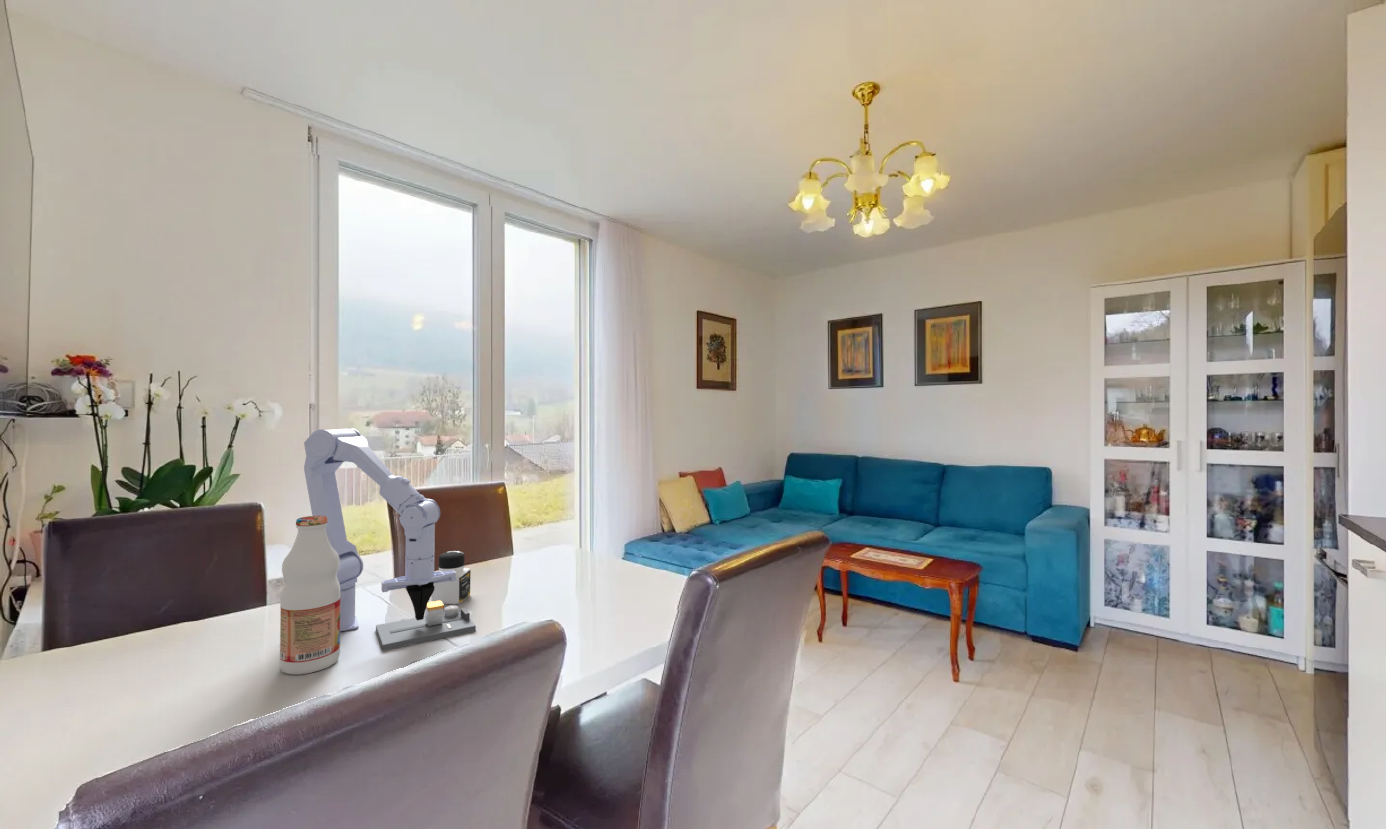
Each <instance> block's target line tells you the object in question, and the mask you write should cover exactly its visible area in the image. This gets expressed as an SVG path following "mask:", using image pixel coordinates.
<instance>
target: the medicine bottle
mask: <svg viewBox="0 0 1386 829" xmlns="http://www.w3.org/2000/svg"><path fill="white" fill-rule="evenodd" d="M465 558H466V557H465V553H464V552H462V551H459V550H457V551H456V550H452V551H446V552H443V553H441V554H440V555H439V556H438V572H441V571H453V570H454V571H455V572H456V581H446V582H440V583H434V592H433V593H432V595H431V597H430V600H431V601H430V602H434V601H439V600H440V601H441V602H442V603H443V605H460V604H461V603H462V602H463V601H465V600H466V599H468V597H470V595H471V575H472V574H471V570H472V569H471V568H469V567H468V568H467V567H465Z"/></svg>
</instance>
